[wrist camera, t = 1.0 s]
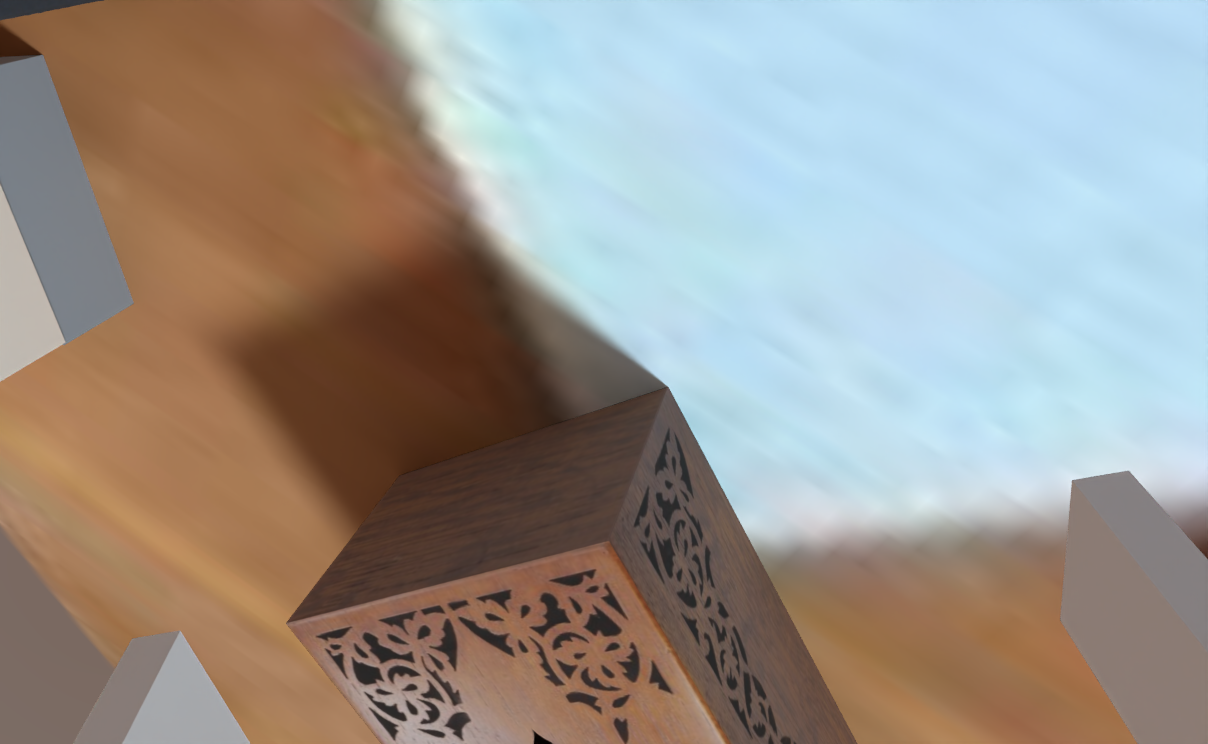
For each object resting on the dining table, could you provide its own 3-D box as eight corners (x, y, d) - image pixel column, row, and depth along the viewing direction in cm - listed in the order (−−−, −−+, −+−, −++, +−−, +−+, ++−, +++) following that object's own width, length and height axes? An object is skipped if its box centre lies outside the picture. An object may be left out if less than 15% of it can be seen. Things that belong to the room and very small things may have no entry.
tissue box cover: (401, 472, 42) (285, 623, 34) (669, 383, 36) (608, 540, 28) (641, 825, 51) (596, 1014, 43) (890, 801, 45) (895, 1018, 36)
